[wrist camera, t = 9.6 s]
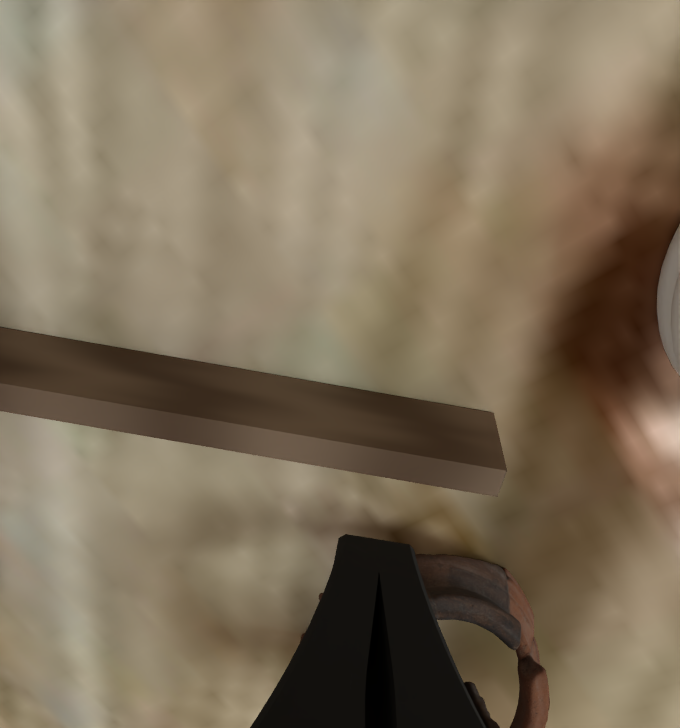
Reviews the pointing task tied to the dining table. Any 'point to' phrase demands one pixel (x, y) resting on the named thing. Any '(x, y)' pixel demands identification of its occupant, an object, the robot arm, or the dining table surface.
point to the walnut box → (250, 412)
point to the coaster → (670, 302)
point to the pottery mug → (490, 624)
